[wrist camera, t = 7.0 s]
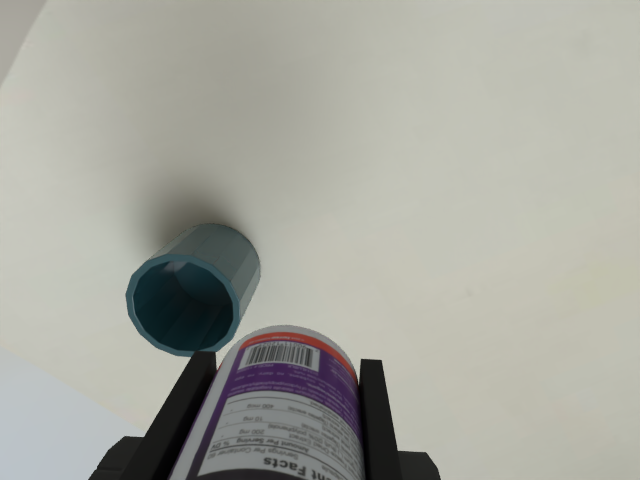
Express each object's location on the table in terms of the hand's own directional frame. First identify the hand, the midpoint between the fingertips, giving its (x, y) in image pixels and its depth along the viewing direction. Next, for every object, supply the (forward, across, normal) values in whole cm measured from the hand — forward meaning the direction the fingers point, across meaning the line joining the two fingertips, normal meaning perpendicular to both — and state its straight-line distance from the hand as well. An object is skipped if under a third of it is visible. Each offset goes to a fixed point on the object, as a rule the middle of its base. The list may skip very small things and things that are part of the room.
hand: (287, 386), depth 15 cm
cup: (+17, -8, -3) cm, 19 cm away
